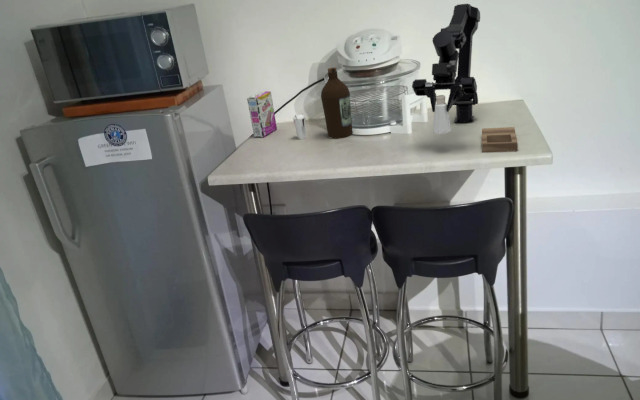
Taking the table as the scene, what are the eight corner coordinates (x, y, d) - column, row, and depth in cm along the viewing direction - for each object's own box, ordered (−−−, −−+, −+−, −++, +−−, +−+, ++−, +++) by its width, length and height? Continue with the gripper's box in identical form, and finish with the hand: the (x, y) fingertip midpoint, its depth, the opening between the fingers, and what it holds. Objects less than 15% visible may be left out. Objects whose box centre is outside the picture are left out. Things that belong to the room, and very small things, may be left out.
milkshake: (293, 140, 187) (289, 115, 183) (299, 136, 192) (294, 111, 188) (304, 140, 186) (300, 114, 182) (309, 135, 190) (305, 110, 186)
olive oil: (321, 138, 185) (311, 71, 175) (336, 129, 193) (328, 65, 183) (344, 140, 179) (336, 71, 169) (359, 131, 187) (352, 64, 176)
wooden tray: (481, 135, 162) (481, 128, 161) (514, 134, 159) (514, 126, 158) (481, 152, 148) (481, 144, 147) (517, 151, 145) (517, 143, 144)
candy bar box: (264, 137, 197) (256, 97, 190) (254, 137, 199) (246, 98, 192) (278, 129, 206) (271, 90, 199) (268, 129, 208) (260, 91, 201)
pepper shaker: (429, 130, 153) (428, 96, 149) (445, 127, 154) (444, 92, 150) (438, 135, 148) (436, 99, 144) (454, 131, 150) (453, 95, 145)
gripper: (411, 53, 149) (403, 98, 145) (474, 48, 141) (467, 96, 136) (420, 73, 159) (412, 116, 154) (479, 70, 150) (473, 115, 146)
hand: (440, 111), depth 148 cm, fingers closed on pepper shaker, 4 cm apart
